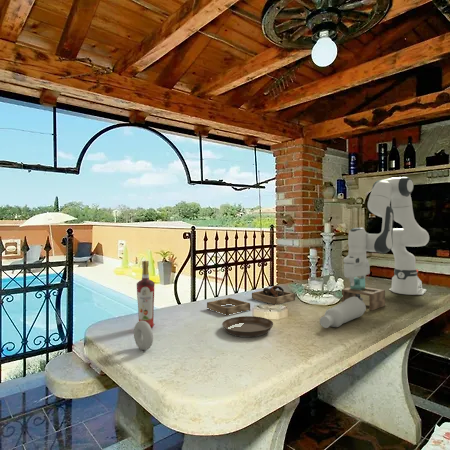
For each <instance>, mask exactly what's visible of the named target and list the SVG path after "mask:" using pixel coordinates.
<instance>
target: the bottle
mask: <svg viewBox="0 0 450 450" xmlns="http://www.w3.org/2000/svg"><path fill="white" fill-rule="evenodd" d="M366 309H367V306H366V303H365V302H364V301H361V300H360V299H359V298H358V297H350V298H348V299H346V300H345V301H343V302H342V301H341V302H339V304H337V305H335V306H333V307H331V308H328V309H326V310H325V312H324V316H321V317H320V318H319V324H320V326H321V327H322V328H324V329H327V328H329V327H332V328H339V327H340V326H342V325H344V324H345V323H348V322H350V321H352V320H355V319H358V318H360V317H361V316H363V315H364V313H365V312H366Z"/></svg>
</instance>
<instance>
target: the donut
mask: <svg viewBox="0 0 450 450" xmlns="http://www.w3.org/2000/svg"><path fill="white" fill-rule="evenodd" d="M133 328H134V329H133V338H134V341H135V344H136V347H138V348H139V350H141V349H142V351H147V350H149V349H150V348H151V347H152V345H153V342H154V332H153V330H152V328H151V327H150V325H149V324H148V323H147V322H146V321H139V320H138V321H137V322H136V323H135V326H134V327H133Z"/></svg>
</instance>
